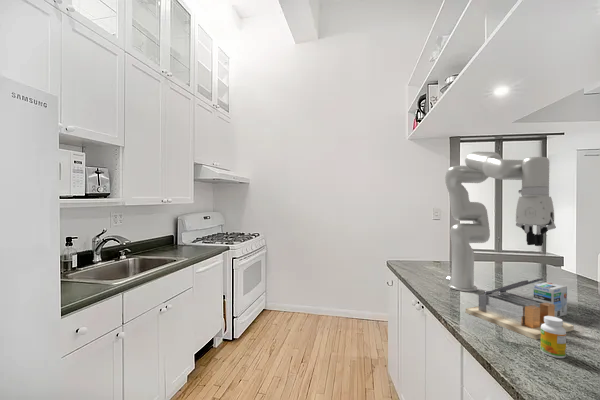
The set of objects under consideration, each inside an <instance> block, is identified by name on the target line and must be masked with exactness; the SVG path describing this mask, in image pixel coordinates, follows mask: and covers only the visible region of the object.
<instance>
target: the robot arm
mask: <svg viewBox="0 0 600 400" xmlns="http://www.w3.org/2000/svg"><path fill="white" fill-rule="evenodd" d="M464 163H465V165H455V166H454V165H453V166H450V167H449V168H448V169H447V170H446V173H445V177H444V179H445V185H446V188H447V191H448V192H447V193H448V196H449V203H450V204H449V205H450V211H451V212H450V214H451V217H452V218H453V220H455V221H459V222H460V223H456V224H453V225H452V226H451V227H450V230H449V236H450V237H449V238H450V241H451V242H450V243H451V275H447V277H446V278H445V280H446V281H448V282H449V283H448V284H447V286H448V288H450V289H452V290H455V291H459V292H468V293H469V292H473V293H474V292H476V291H478V286H476V285H474V284H475V283H474V281H475V253H474V249H473V248H472V247H471V245H470V244H484V243H485V244H486V243H487V242H488V241H489V239H490V236H491V230H490V223H489V221H490V220H489V215H488V214H489V213H488V209H487V208H486V206H485V205H484V204H483V203H482V202H479V201H470V197H469V196H470V195H469V192H468V190H467V188H466V187H465V186H464V185H463V184H481V183H483V182H485V181H486V180H487V179H488V178H492V179H496V180H502V181H503V180H504V181H505V180H506V181H507V180H508V181H514V180H515V181H521V189H519V190H518V194H519V195H521V196H519V197H518V199H517V203H516V209H515V222H516V223H515V226H516V227H518V228H521V229H522V231H524V233H525V234H526V236H525V237H526V238H525V239H526V240H525V241H526V245H527V246H533V245H534V246H535V247H543V244H544V235H545V234H546V233H547V232H548V231H551V230H554V229H556V223H555V208H554V204H553V203H554V202H553V199H552V196H550V159H549V158H548V157H546V156H532V157H531V156H530V157H526V158H524V159H503V158H502V157H501V155H500V153H497V152H495V151H473V152H470V153H469V154H467V156H465V159H464ZM461 222H463V223H461ZM465 222H468V223H465ZM470 222H472V223H470ZM534 226H536V233H534Z"/></svg>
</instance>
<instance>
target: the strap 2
mask: <svg viewBox="0 0 600 400" xmlns="http://www.w3.org/2000/svg"><path fill="white" fill-rule="evenodd" d="M541 281H544V279H543V278H537V279H533V280H530V281H529V280H528V282H527V283H524V284H520V285H517V286H514V287H510V288H507V289H504V290H500V291H498V292H499V293H502V292H508V291H510V290H514V289H518V288H521V287H524V286H529V285H531V284H535V283H539V282H541Z"/></svg>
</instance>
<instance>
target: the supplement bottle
mask: <svg viewBox="0 0 600 400" xmlns="http://www.w3.org/2000/svg"><path fill="white" fill-rule="evenodd" d="M544 322H545V323H544V324H542V325H541V339H540V348H539V349H540V351H541V352H542V354H545V355H547V356H549V357H552V358H557V359H564V358H566V355H567V332H566V330H565V329H564V328H563V327H562V326H563V322H564V320H563V319H562V318H560V317H553V316H544Z"/></svg>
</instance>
